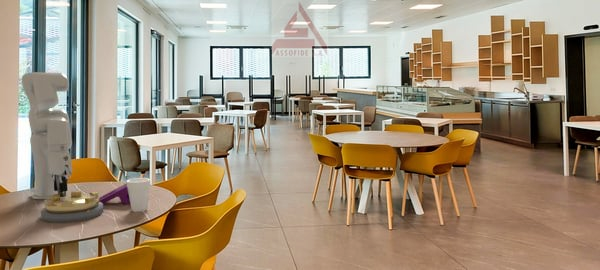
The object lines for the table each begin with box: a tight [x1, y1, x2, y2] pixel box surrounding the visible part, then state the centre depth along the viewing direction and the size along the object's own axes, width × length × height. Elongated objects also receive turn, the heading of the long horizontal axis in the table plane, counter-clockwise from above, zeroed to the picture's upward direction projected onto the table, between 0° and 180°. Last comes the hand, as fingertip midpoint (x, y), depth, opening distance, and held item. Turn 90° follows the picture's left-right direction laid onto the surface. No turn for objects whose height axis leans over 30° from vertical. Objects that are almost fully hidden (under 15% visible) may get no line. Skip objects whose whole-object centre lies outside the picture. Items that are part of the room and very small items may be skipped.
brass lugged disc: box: [43, 190, 100, 214], centre depth 184 cm, size 20×20×4 cm
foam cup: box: [126, 177, 151, 213], centre depth 191 cm, size 10×9×13 cm
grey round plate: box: [40, 202, 104, 224], centre depth 185 cm, size 23×23×3 cm
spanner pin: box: [56, 174, 67, 198], centre depth 189 cm, size 3×3×10 cm
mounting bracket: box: [98, 182, 131, 206], centre depth 204 cm, size 9×8×18 cm
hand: (60, 190), depth 189 cm, fingers closed on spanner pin, 3 cm apart
